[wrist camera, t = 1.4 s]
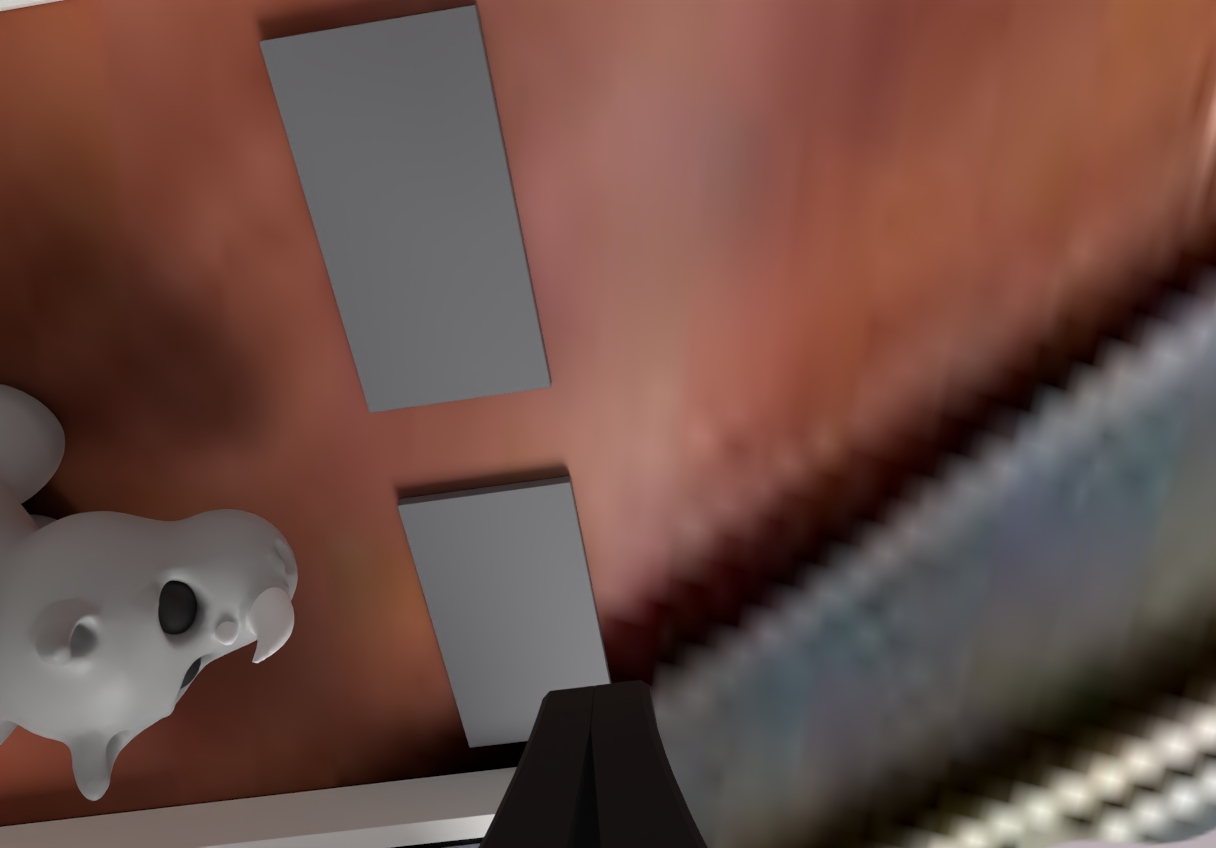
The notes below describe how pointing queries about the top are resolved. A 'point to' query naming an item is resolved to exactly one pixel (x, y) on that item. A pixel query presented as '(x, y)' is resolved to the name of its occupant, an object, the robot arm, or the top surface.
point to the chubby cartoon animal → (119, 603)
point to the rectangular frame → (406, 377)
